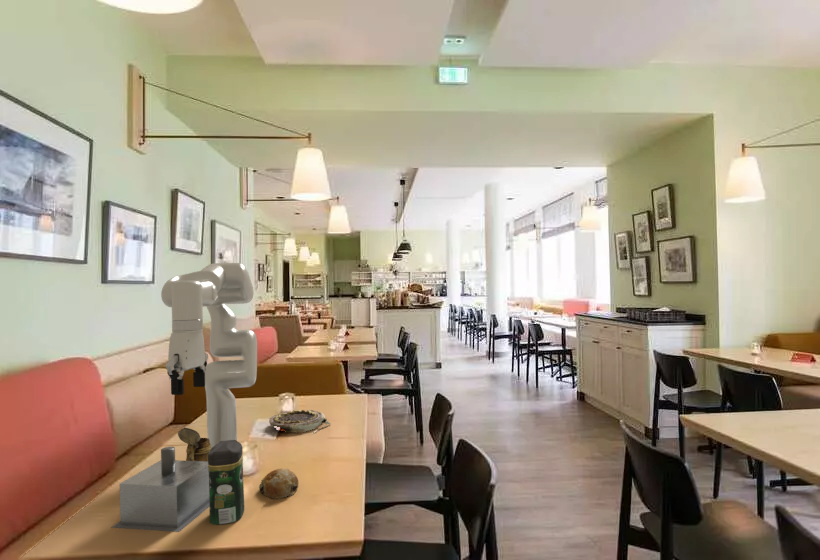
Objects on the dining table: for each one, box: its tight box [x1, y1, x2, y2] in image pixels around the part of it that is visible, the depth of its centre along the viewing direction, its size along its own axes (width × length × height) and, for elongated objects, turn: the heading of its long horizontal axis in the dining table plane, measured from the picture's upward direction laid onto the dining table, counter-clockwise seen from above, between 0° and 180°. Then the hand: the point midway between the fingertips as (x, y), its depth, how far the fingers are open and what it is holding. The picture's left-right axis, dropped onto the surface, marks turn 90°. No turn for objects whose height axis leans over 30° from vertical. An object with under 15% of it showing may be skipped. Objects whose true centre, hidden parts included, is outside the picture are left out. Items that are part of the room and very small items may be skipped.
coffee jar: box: [208, 440, 245, 526], centre depth 119 cm, size 10×8×19 cm
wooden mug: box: [177, 427, 211, 462], centre depth 141 cm, size 9×14×18 cm, turn 1°
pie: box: [268, 409, 332, 435], centre depth 193 cm, size 28×27×5 cm
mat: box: [110, 502, 210, 533], centre depth 122 cm, size 18×18×1 cm
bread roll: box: [258, 468, 300, 500], centre depth 133 cm, size 10×10×8 cm
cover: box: [119, 446, 210, 528], centre depth 121 cm, size 15×15×16 cm
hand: (188, 390), depth 127 cm, fingers open, 9 cm apart
